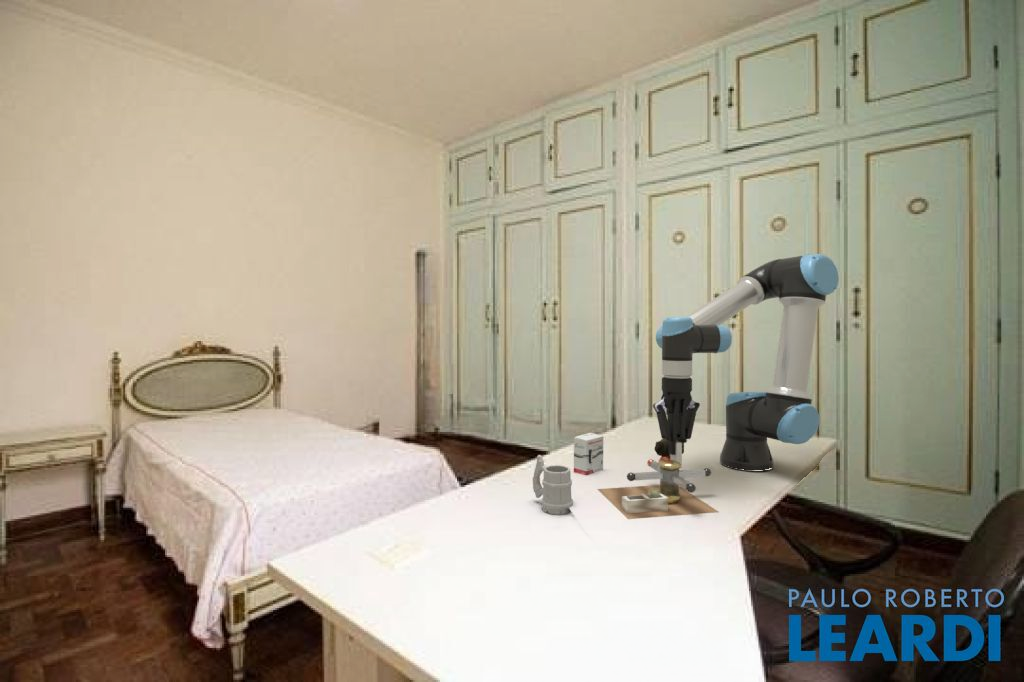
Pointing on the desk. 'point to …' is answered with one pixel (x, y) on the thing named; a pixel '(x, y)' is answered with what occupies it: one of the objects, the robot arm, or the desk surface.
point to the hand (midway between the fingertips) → (676, 466)
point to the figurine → (662, 449)
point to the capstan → (669, 478)
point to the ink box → (588, 453)
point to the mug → (553, 487)
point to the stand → (653, 502)
